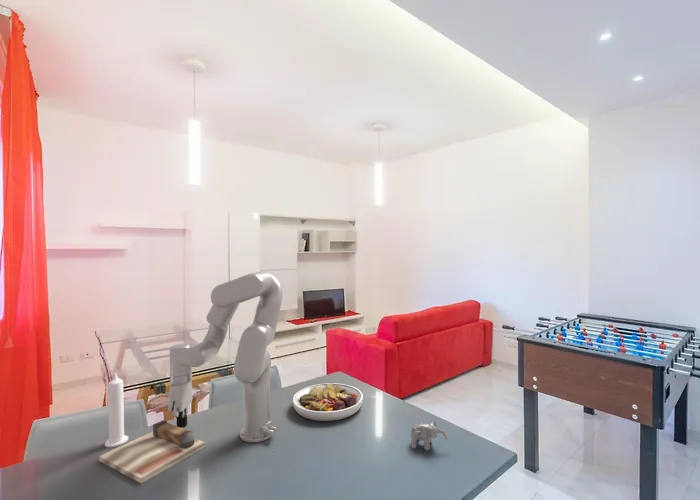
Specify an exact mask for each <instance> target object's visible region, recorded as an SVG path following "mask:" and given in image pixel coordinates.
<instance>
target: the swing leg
mask: <svg viewBox="0 0 700 500" xmlns="http://www.w3.org/2000/svg"><path fill="white" fill-rule="evenodd" d="M152 431H153V435H154V436H156V437H157V436H158V437H160V438H163V439H165V440H167V441H170V442H172V443H175V444H177V445H180V447H182V448H187V447H190V446H192V445H193V444H194V438H195V432H194V430H188V429H185V428H180V427H177V425H174V424H171V423H169V422H168V421H167V420H160V421H157V422H156V423H154V424H152Z"/></svg>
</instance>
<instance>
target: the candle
mask: <svg viewBox="0 0 700 500" xmlns="http://www.w3.org/2000/svg"><path fill="white" fill-rule="evenodd" d="M107 387H108V388H107V390H108V391H107V397H108V398H107V399H108V401H107V402H108V439H107V440H106V441H105V442H104V446H105V447H106V448H118V447H120V446H122V445H124V444H126V443H128V441H129V436H128V435H125V413H124V411H125V410H124V409H125V406H124V380H123V379H121V378H120V377H118V374H117V372H114V375H113V377H112V379H111V380H110V381H108V383H107Z"/></svg>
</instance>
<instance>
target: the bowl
mask: <svg viewBox="0 0 700 500" xmlns="http://www.w3.org/2000/svg"><path fill="white" fill-rule="evenodd" d="M363 402H364V394H363V392H361V390H359V388H357V387H354V386H352V385H348V384H344V383H332V382H330V383H328V382H327V383H320V384H319V383H318V384H313V385H310V386H307V387H304V388H302V389H300V390H298V391H297V392H296V393H295V394H294V395H293V396H292V405H293V407H294V410H295V411H296V412H297V413H298V415H300V416H301V417H303V418H306V419H308V420H312V421H318V422H332V421H333V422H334V421H340V420H342V419H346V418H348V417H350V416H352V415H354V414H355V413H357V412H358V411H359V410H360V408H361V407H362V405H363Z"/></svg>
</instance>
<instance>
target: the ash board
mask: <svg viewBox="0 0 700 500" xmlns="http://www.w3.org/2000/svg"><path fill="white" fill-rule="evenodd" d="M204 448H206V442H205V441H202V440H200V439H196V438H195V437H194V444H193V445H192V446H190V447H187V448H182V447H180V445H177V444H175V443H172V442H170V441H167V440H165V439H163V438H160V437H158V436H157V437H156V436H154V435H153V430H152V431H150V432H148V433H146V434H144V435H142V436H140V437H139V436H138V437H137V438H135V439H133V440H131V441H129V442H126V443H124V444H122V445H120V446H117V447H115V448H114V449H112V450H110V451H108V452H105V453H103V454H101V455H99V456H98V461H99V462H101V463H102V464H104V465H106V466H107V467H110V468H112V469H113V470H116V471H117V472H119V473H121V474H123V475H125V476H127V477H128V478H130V479H132V480H134V481H136V482H137V483H139V484H143V483H145V482H147V481H149V480H150V479H152V478H154V477H156V476H157V475H159V474H161V473H162V472H164V471H166V470H167V469H170V468H171V467H173V466H175V465H177V464H178V463H179V462H182V461H183V460H185V459H186V458H188V457H190V456H193V455H194V454H195V453H197V452H199V451H200V450H202V449H204Z"/></svg>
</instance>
